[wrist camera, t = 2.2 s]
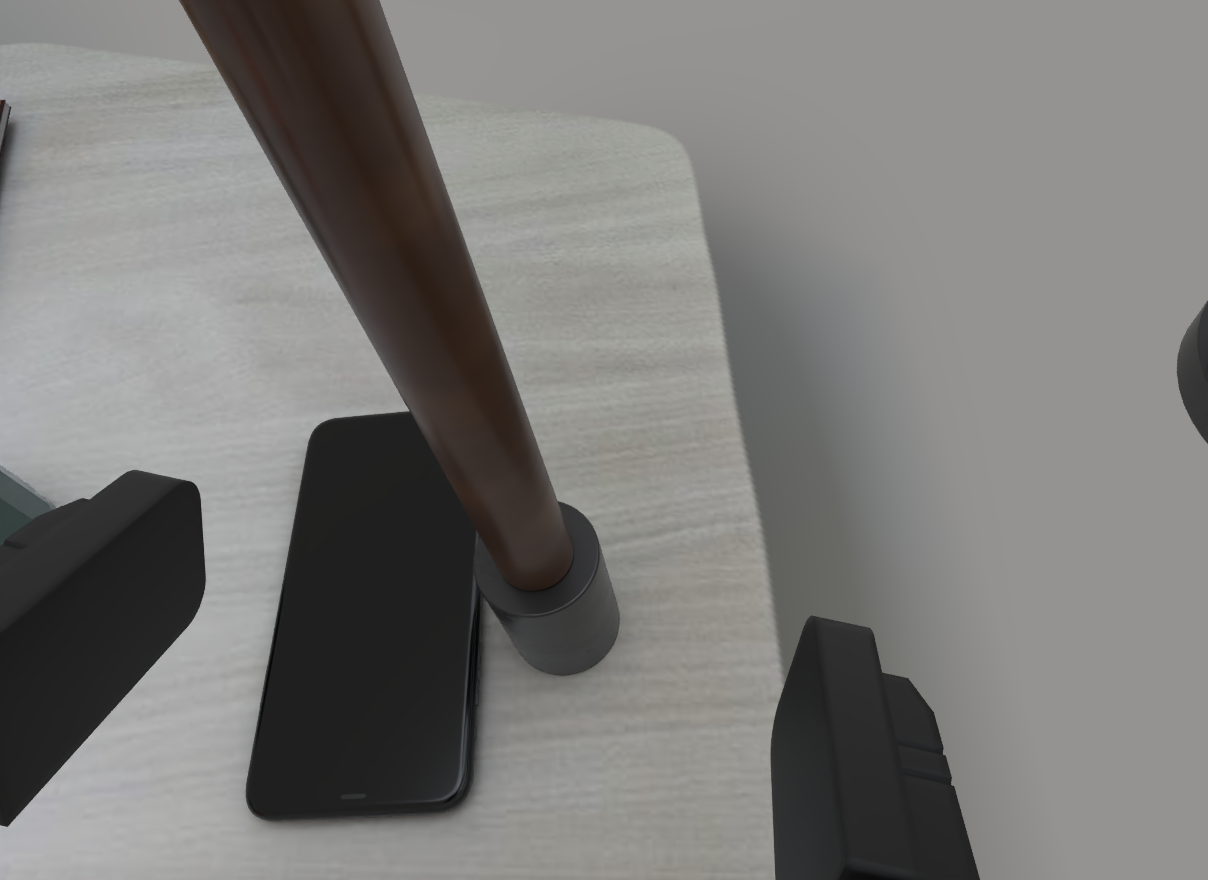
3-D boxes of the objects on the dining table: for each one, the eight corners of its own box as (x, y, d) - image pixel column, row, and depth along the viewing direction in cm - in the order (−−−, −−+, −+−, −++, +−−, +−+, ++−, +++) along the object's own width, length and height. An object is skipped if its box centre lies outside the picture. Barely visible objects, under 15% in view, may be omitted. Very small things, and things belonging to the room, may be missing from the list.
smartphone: (317, 428, 38) (246, 825, 30) (309, 417, 37) (234, 821, 29) (495, 412, 37) (475, 814, 29) (490, 400, 37) (469, 810, 28)
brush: (588, 552, 33) (253, -470, 10) (639, 640, 31) (375, -385, 8) (495, 604, 33) (-105, -357, 9) (541, 696, 31) (-74, -233, 7)
